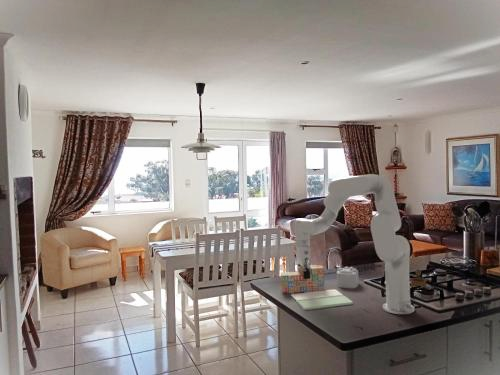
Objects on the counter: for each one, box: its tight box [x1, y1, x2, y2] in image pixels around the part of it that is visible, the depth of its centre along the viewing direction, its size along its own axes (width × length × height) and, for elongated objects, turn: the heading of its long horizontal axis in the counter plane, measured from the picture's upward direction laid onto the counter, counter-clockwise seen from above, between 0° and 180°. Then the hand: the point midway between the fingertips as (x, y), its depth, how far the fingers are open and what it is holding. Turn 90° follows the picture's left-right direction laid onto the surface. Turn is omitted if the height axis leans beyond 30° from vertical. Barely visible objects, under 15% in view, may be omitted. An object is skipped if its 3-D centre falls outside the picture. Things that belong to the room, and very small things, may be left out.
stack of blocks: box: [280, 264, 325, 294], centre depth 192 cm, size 21×6×12 cm, turn 89°
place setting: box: [410, 269, 427, 287], centre depth 189 cm, size 18×20×6 cm
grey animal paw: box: [336, 266, 360, 289], centre depth 199 cm, size 10×13×9 cm
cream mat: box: [290, 288, 344, 303], centre depth 182 cm, size 9×23×1 cm, turn 101°
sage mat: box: [297, 295, 354, 311], centre depth 172 cm, size 9×23×1 cm, turn 101°
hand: (303, 276), depth 192 cm, fingers open, 9 cm apart
